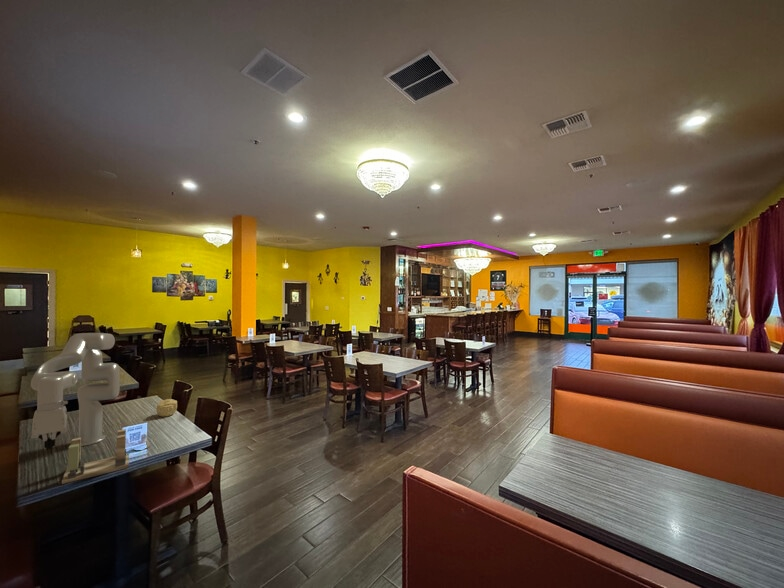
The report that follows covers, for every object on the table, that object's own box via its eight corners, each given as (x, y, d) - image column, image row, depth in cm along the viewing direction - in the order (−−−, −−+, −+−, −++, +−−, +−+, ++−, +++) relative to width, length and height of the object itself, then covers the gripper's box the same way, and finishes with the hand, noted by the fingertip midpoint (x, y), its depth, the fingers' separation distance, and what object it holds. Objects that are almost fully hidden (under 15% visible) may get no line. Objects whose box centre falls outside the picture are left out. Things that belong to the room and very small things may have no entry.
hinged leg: (68, 474, 142) (70, 444, 142) (78, 471, 143) (79, 443, 144) (67, 478, 138) (68, 448, 139) (76, 475, 140) (78, 446, 141)
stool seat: (67, 470, 148) (68, 438, 148) (129, 456, 161) (129, 427, 162) (61, 484, 137) (62, 450, 137) (128, 467, 150) (129, 436, 151)
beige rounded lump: (157, 419, 209) (157, 403, 210) (155, 414, 218) (155, 398, 219) (178, 415, 217) (178, 399, 217) (175, 410, 226) (175, 395, 226)
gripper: (76, 399, 145) (75, 440, 145) (26, 406, 135) (26, 450, 135) (73, 404, 139) (73, 447, 139) (21, 412, 129) (21, 457, 130)
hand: (49, 448), depth 137 cm, fingers closed
